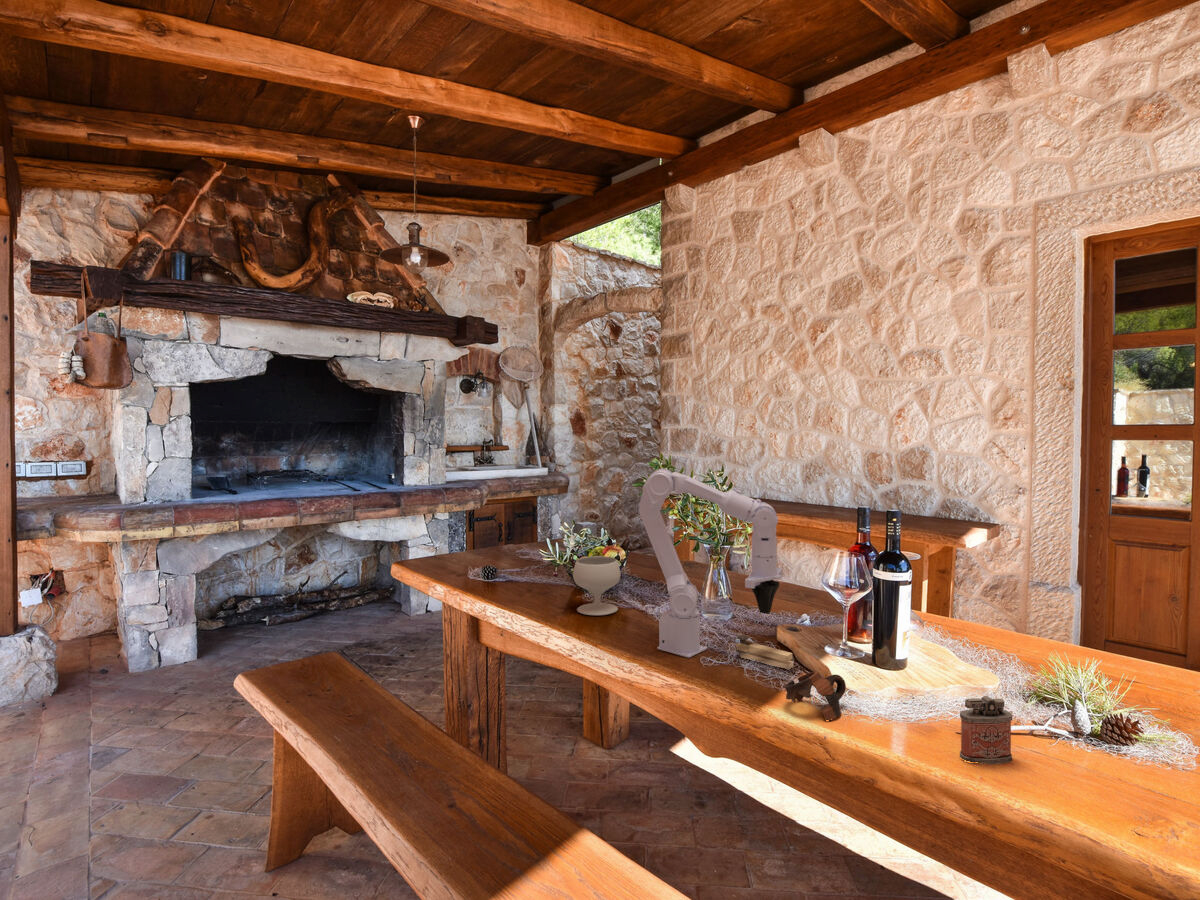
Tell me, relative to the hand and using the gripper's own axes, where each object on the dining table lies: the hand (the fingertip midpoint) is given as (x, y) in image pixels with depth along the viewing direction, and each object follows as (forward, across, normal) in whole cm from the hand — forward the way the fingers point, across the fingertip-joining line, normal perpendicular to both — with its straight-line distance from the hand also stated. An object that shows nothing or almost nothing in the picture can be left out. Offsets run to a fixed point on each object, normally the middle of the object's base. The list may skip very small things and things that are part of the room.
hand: (764, 612), depth 153 cm
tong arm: (+8, -5, -3) cm, 10 cm away
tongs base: (+10, -5, -2) cm, 11 cm away
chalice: (+10, +1, +55) cm, 56 cm away
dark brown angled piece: (+10, -20, -22) cm, 31 cm away
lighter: (+10, -20, -50) cm, 55 cm away
